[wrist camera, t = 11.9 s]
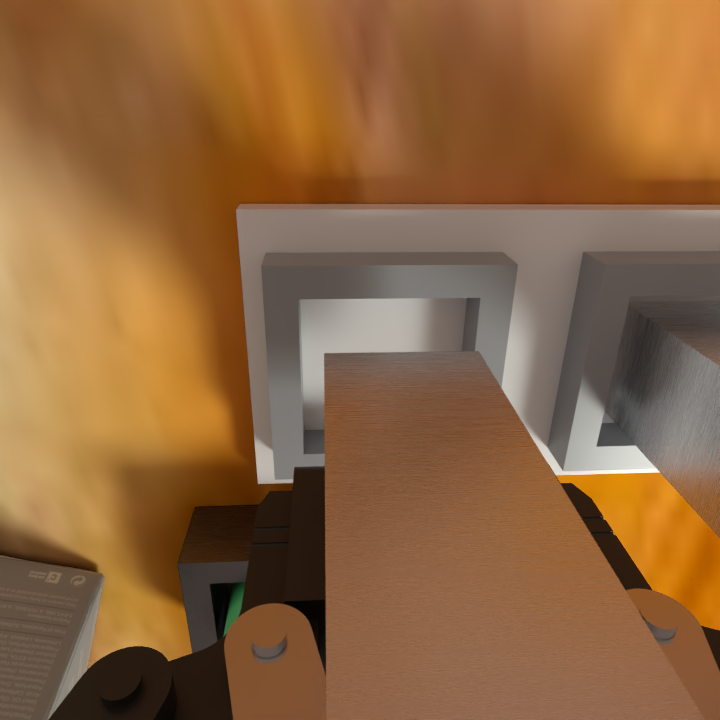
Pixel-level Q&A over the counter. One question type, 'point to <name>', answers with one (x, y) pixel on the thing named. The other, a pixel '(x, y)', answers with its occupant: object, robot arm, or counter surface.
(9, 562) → the skincare box
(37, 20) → the counter surface
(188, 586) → the button housing
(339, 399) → the block
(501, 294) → the grey socket board
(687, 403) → the block
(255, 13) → the counter surface
